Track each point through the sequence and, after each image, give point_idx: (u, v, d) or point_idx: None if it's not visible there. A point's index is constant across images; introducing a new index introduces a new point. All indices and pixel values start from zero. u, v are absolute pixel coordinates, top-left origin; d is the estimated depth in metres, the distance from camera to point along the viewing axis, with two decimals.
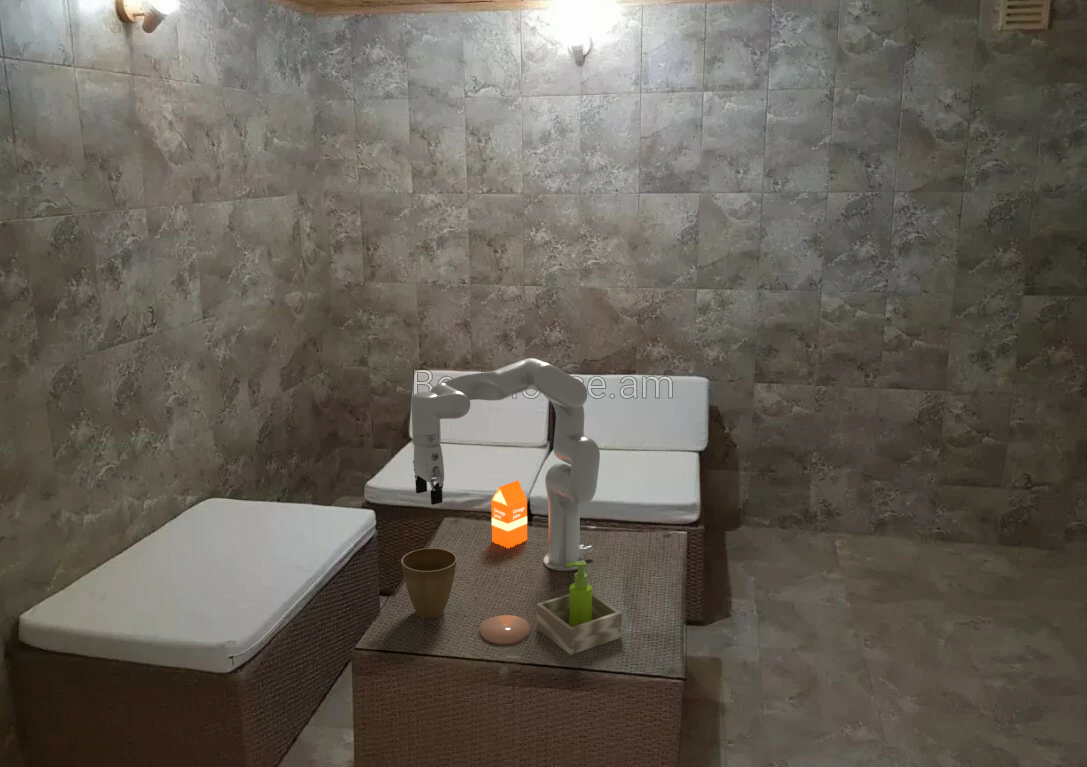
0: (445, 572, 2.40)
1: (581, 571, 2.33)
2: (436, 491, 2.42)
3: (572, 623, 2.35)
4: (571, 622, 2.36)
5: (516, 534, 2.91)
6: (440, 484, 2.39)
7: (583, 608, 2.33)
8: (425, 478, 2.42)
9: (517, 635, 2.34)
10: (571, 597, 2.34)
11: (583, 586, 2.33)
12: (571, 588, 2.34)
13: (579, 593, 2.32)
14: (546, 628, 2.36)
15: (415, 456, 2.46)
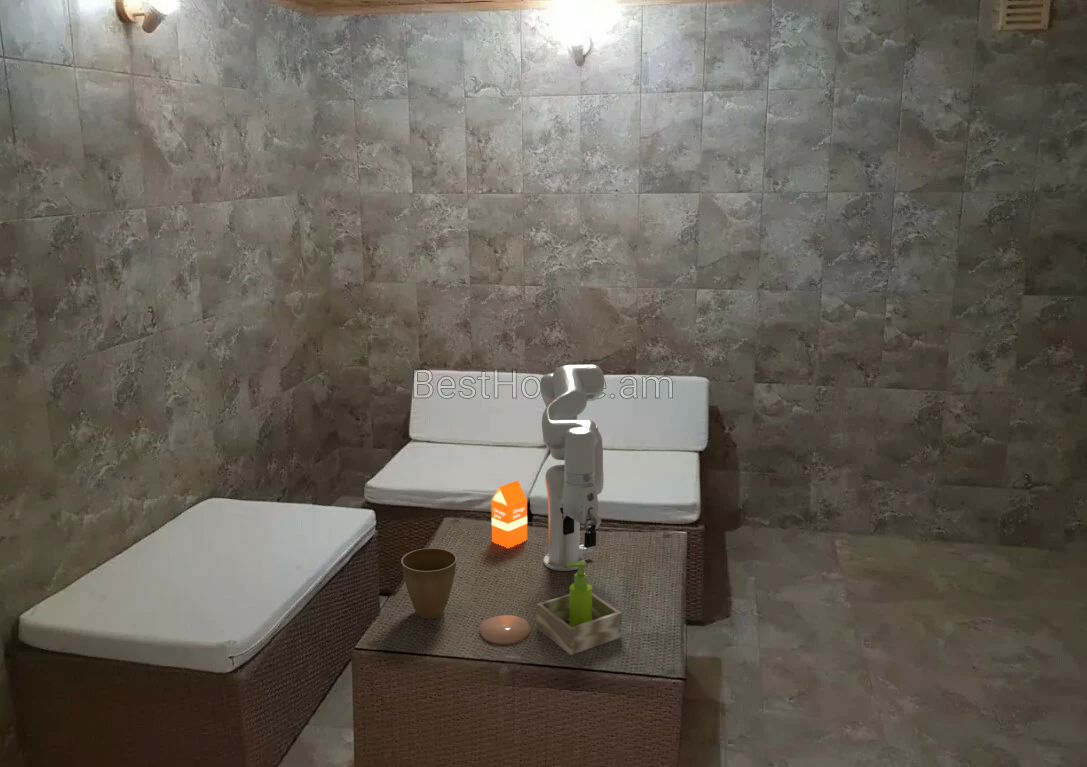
0: (445, 572, 2.40)
1: (581, 571, 2.33)
2: (591, 534, 2.25)
3: (572, 623, 2.35)
4: (571, 622, 2.36)
5: (516, 534, 2.91)
6: (597, 526, 2.23)
7: (583, 608, 2.33)
8: (578, 520, 2.26)
9: (517, 635, 2.34)
10: (571, 597, 2.34)
11: (582, 586, 2.33)
12: (571, 588, 2.34)
13: (579, 593, 2.32)
14: (546, 628, 2.36)
15: (565, 496, 2.29)
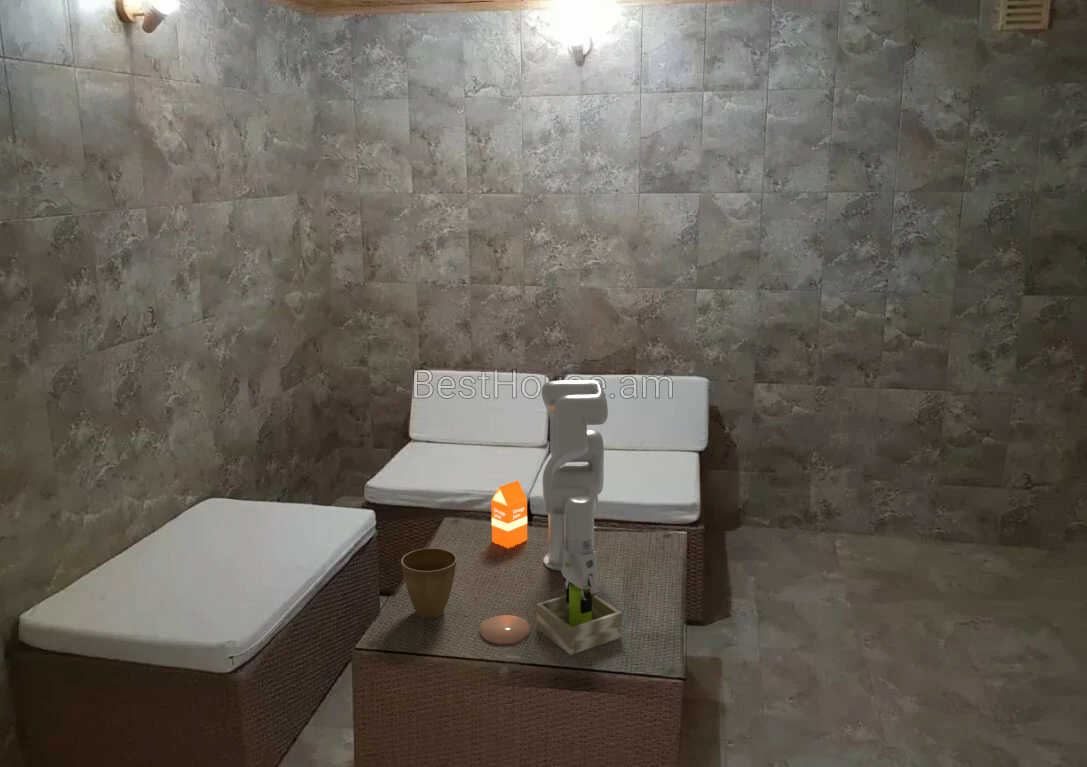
0: (445, 572, 2.40)
1: None
2: (586, 600, 2.32)
3: (572, 623, 2.35)
4: (571, 622, 2.36)
5: (516, 534, 2.91)
6: (592, 595, 2.29)
7: None
8: (578, 585, 2.31)
9: (517, 635, 2.34)
10: (571, 597, 2.34)
11: None
12: (570, 588, 2.34)
13: (579, 593, 2.32)
14: (546, 628, 2.36)
15: (565, 561, 2.34)
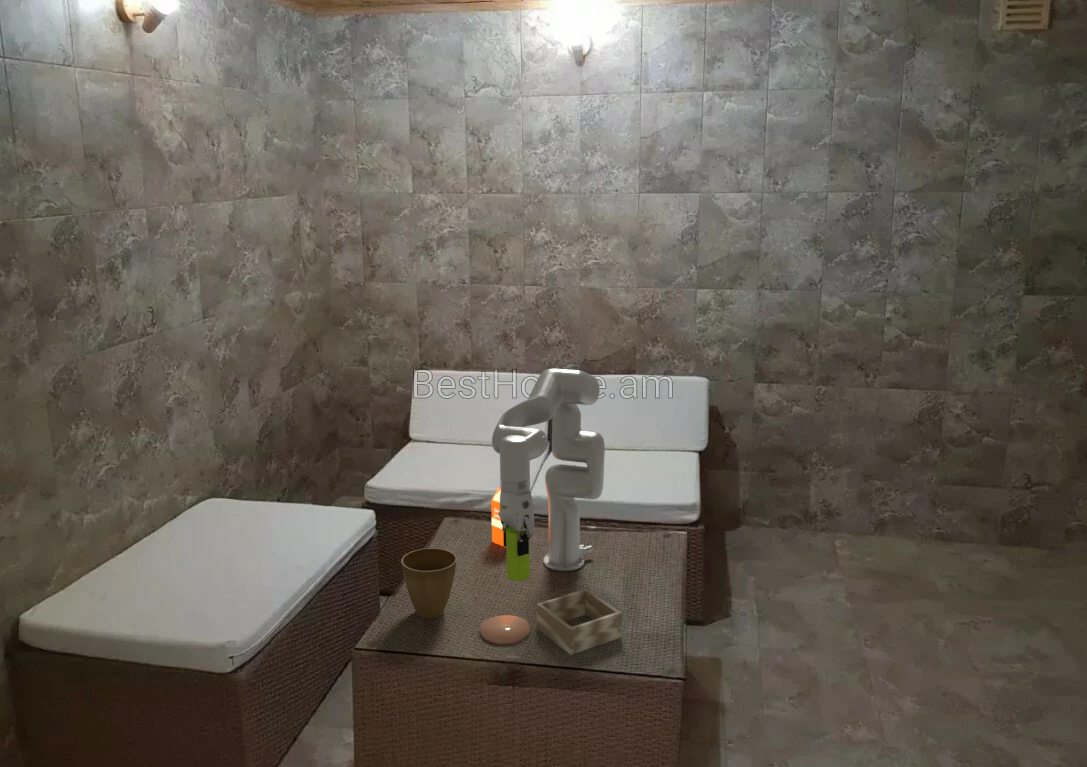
0: (445, 572, 2.40)
1: None
2: (523, 542, 2.28)
3: (509, 566, 2.32)
4: (508, 565, 2.32)
5: None
6: (528, 536, 2.26)
7: None
8: (514, 527, 2.28)
9: (517, 635, 2.34)
10: (507, 539, 2.31)
11: None
12: (507, 530, 2.31)
13: (515, 535, 2.29)
14: (546, 628, 2.36)
15: (502, 503, 2.31)
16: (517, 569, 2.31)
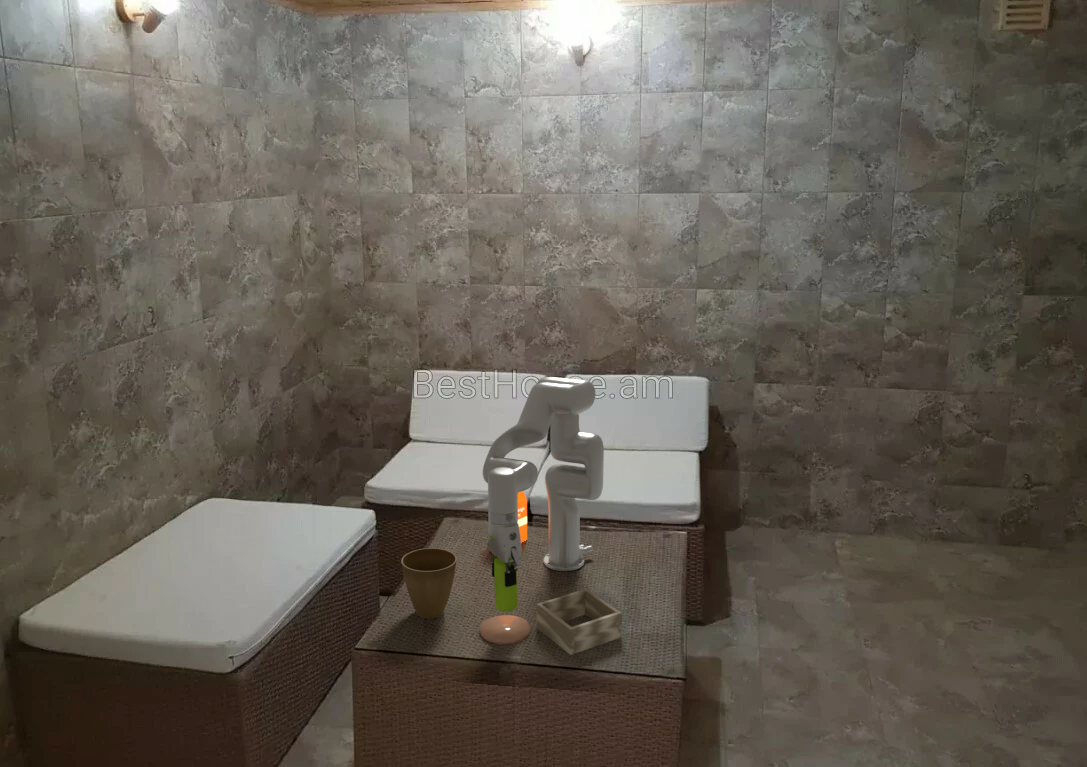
0: (445, 572, 2.40)
1: None
2: (510, 573, 2.31)
3: (497, 597, 2.34)
4: (496, 595, 2.35)
5: None
6: (516, 568, 2.28)
7: None
8: (502, 558, 2.30)
9: (517, 635, 2.34)
10: (495, 570, 2.33)
11: None
12: (495, 561, 2.33)
13: (503, 566, 2.31)
14: (546, 628, 2.36)
15: (490, 534, 2.33)
16: (504, 599, 2.33)
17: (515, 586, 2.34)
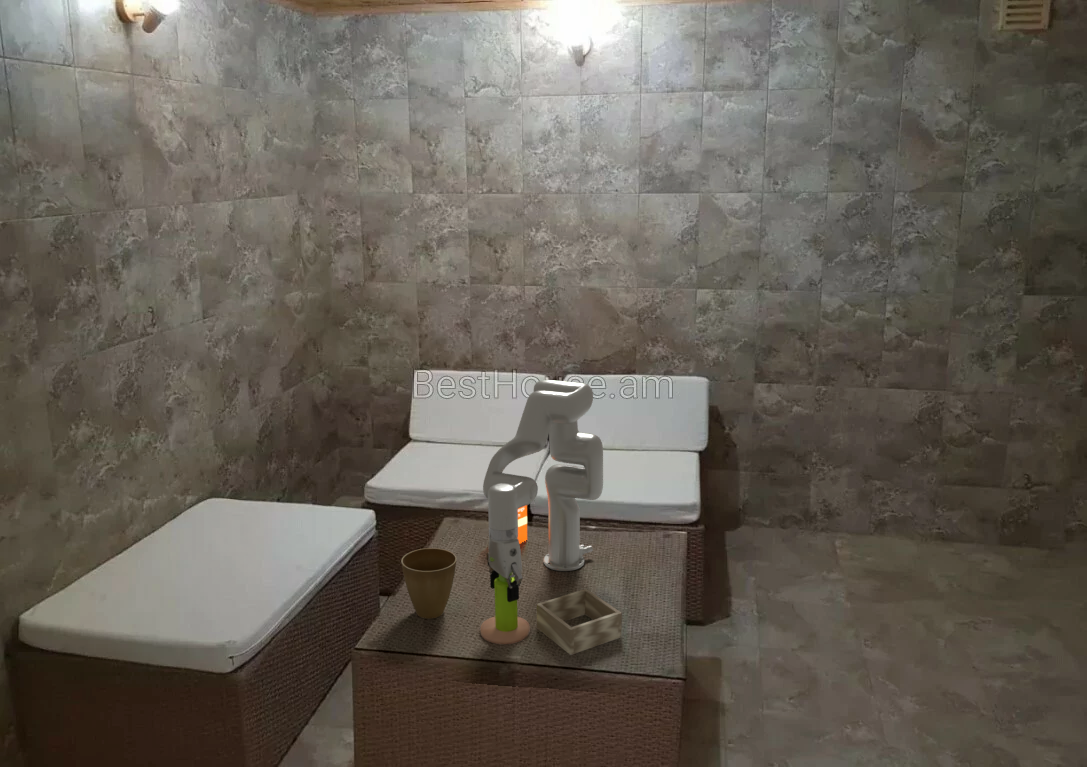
0: (445, 572, 2.40)
1: None
2: (513, 588, 2.30)
3: (498, 617, 2.36)
4: (496, 616, 2.37)
5: None
6: (518, 582, 2.28)
7: (507, 602, 2.34)
8: (502, 574, 2.31)
9: (517, 635, 2.34)
10: (496, 591, 2.35)
11: None
12: (496, 582, 2.35)
13: (503, 587, 2.33)
14: (546, 628, 2.36)
15: (490, 549, 2.34)
16: (505, 620, 2.35)
17: (515, 606, 2.36)
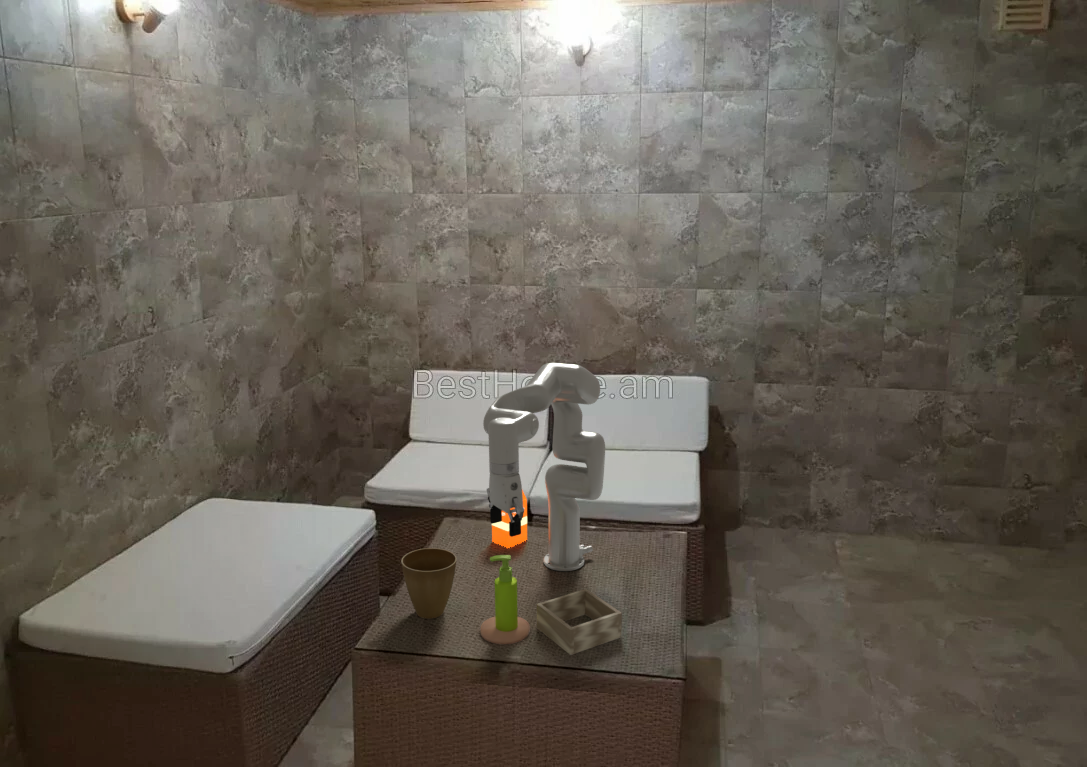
0: (445, 572, 2.40)
1: (505, 565, 2.34)
2: (515, 523, 2.28)
3: (498, 617, 2.36)
4: (496, 616, 2.37)
5: None
6: (520, 516, 2.25)
7: (507, 602, 2.34)
8: (503, 509, 2.28)
9: (517, 635, 2.34)
10: (496, 591, 2.35)
11: (507, 579, 2.34)
12: (496, 582, 2.35)
13: (503, 587, 2.33)
14: (546, 628, 2.36)
15: (491, 485, 2.32)
16: (505, 620, 2.35)
17: (515, 606, 2.36)
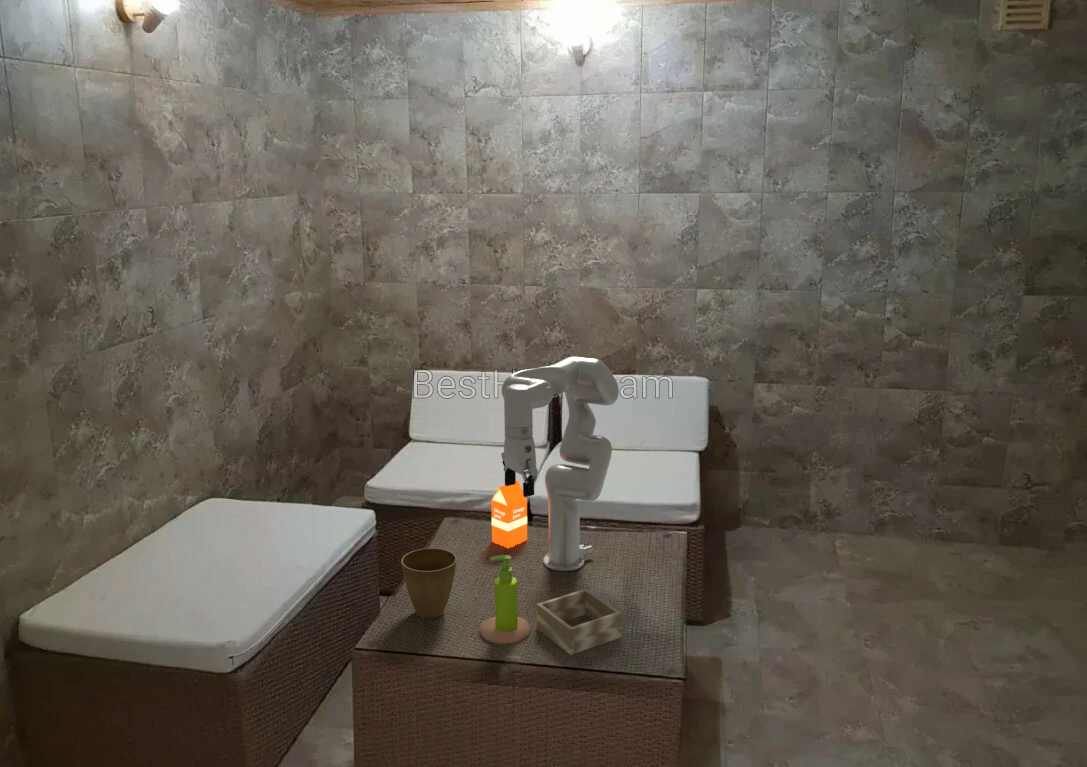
0: (445, 572, 2.40)
1: (506, 565, 2.34)
2: (529, 483, 2.41)
3: (498, 617, 2.36)
4: (496, 616, 2.37)
5: (516, 534, 2.91)
6: (534, 476, 2.38)
7: (507, 602, 2.34)
8: (517, 470, 2.42)
9: (517, 635, 2.34)
10: (496, 591, 2.35)
11: (507, 579, 2.34)
12: (496, 582, 2.35)
13: (504, 587, 2.33)
14: (546, 628, 2.36)
15: (506, 448, 2.45)
16: (505, 620, 2.35)
17: (515, 606, 2.36)
